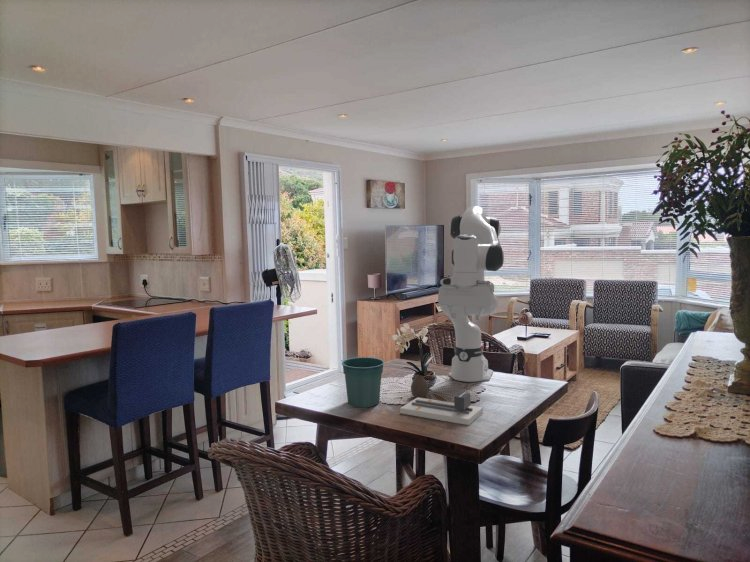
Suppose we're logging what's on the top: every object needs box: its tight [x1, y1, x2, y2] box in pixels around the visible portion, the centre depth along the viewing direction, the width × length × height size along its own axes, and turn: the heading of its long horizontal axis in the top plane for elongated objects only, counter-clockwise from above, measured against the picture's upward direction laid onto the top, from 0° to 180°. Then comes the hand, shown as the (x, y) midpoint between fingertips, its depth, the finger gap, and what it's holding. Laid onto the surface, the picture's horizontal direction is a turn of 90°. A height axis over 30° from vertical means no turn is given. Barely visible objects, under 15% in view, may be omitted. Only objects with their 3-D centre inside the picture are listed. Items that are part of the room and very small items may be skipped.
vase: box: [410, 374, 429, 399], centre depth 212 cm, size 7×7×9 cm
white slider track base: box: [399, 397, 484, 426], centre depth 193 cm, size 14×26×3 cm, turn 59°
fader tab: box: [453, 391, 471, 410], centre depth 189 cm, size 6×4×6 cm, turn 149°
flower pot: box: [341, 356, 385, 409], centre depth 206 cm, size 16×16×16 cm
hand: (465, 318), depth 192 cm, fingers open, 8 cm apart
